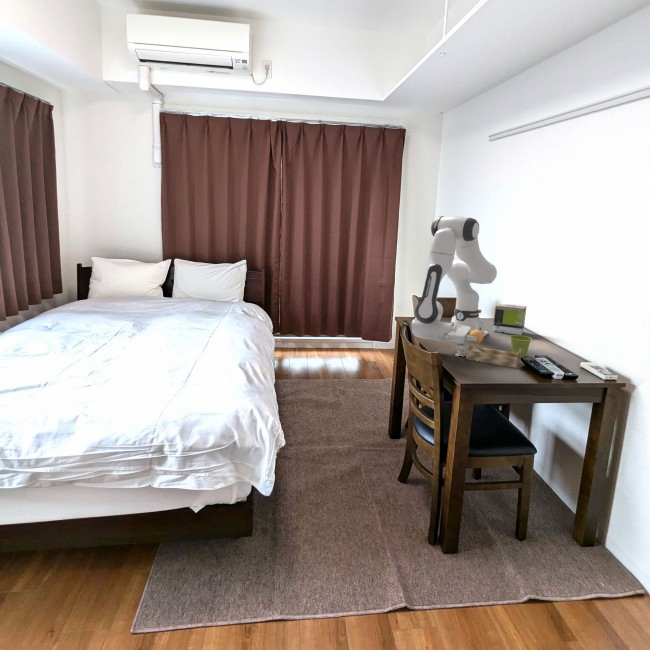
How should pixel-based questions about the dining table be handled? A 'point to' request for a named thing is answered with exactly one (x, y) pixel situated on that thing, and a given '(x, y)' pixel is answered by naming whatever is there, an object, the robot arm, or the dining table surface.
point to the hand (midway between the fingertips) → (478, 336)
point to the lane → (494, 356)
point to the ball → (479, 336)
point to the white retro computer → (509, 318)
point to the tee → (460, 349)
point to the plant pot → (520, 344)
